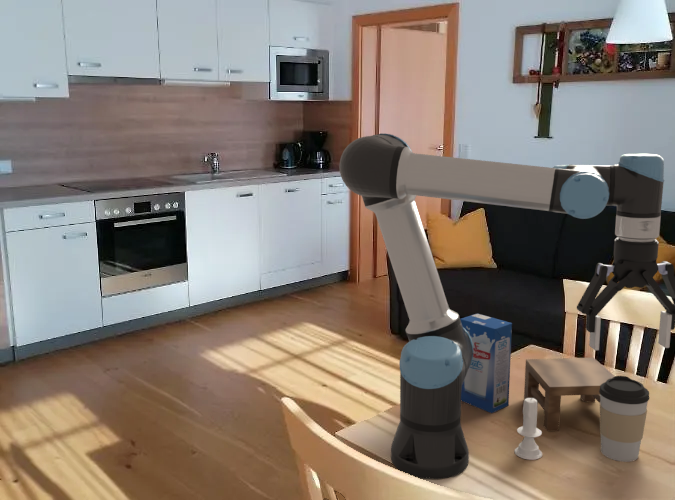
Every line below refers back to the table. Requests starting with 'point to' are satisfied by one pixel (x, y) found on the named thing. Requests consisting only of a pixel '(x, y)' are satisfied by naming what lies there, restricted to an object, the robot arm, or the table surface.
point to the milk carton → (488, 363)
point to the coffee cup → (622, 417)
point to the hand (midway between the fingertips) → (628, 346)
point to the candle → (529, 432)
